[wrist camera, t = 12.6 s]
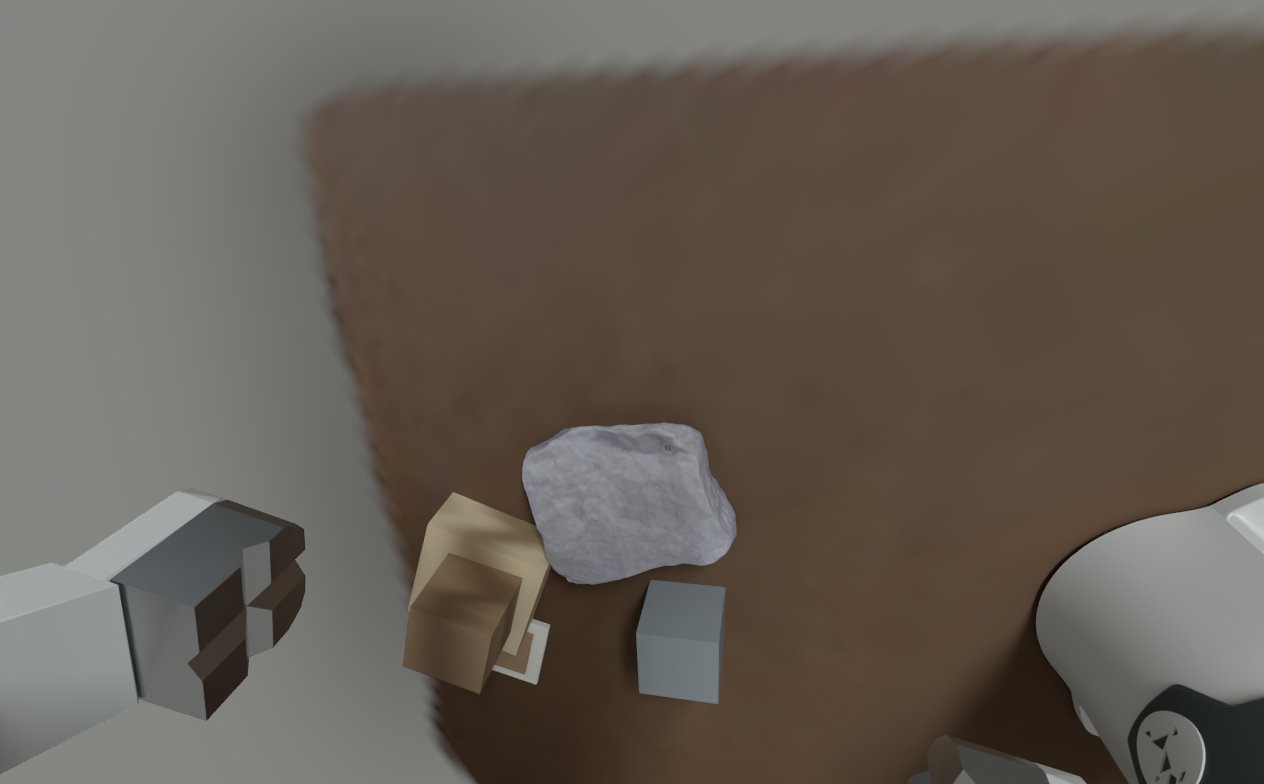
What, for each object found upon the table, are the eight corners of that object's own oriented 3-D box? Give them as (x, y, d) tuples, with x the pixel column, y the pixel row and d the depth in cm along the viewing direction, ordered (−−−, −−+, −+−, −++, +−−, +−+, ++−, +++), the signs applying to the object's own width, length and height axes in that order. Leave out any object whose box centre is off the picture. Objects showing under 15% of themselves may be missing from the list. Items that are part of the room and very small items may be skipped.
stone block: (528, 429, 44) (575, 566, 46) (497, 451, 40) (551, 602, 41) (699, 383, 41) (745, 532, 42) (687, 401, 36) (738, 568, 38)
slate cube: (725, 586, 44) (718, 642, 40) (724, 644, 46) (717, 703, 42) (650, 578, 45) (636, 633, 41) (652, 635, 47) (639, 693, 43)
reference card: (550, 624, 49) (547, 631, 48) (538, 680, 51) (535, 687, 51) (473, 599, 49) (469, 605, 48) (464, 655, 52) (460, 662, 51)
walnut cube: (522, 578, 42) (491, 636, 38) (510, 633, 45) (479, 694, 40) (448, 552, 43) (409, 607, 38) (440, 608, 45) (402, 666, 41)
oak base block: (564, 533, 45) (545, 571, 42) (534, 614, 49) (515, 655, 46) (455, 489, 46) (427, 523, 42) (434, 572, 49) (407, 611, 46)
